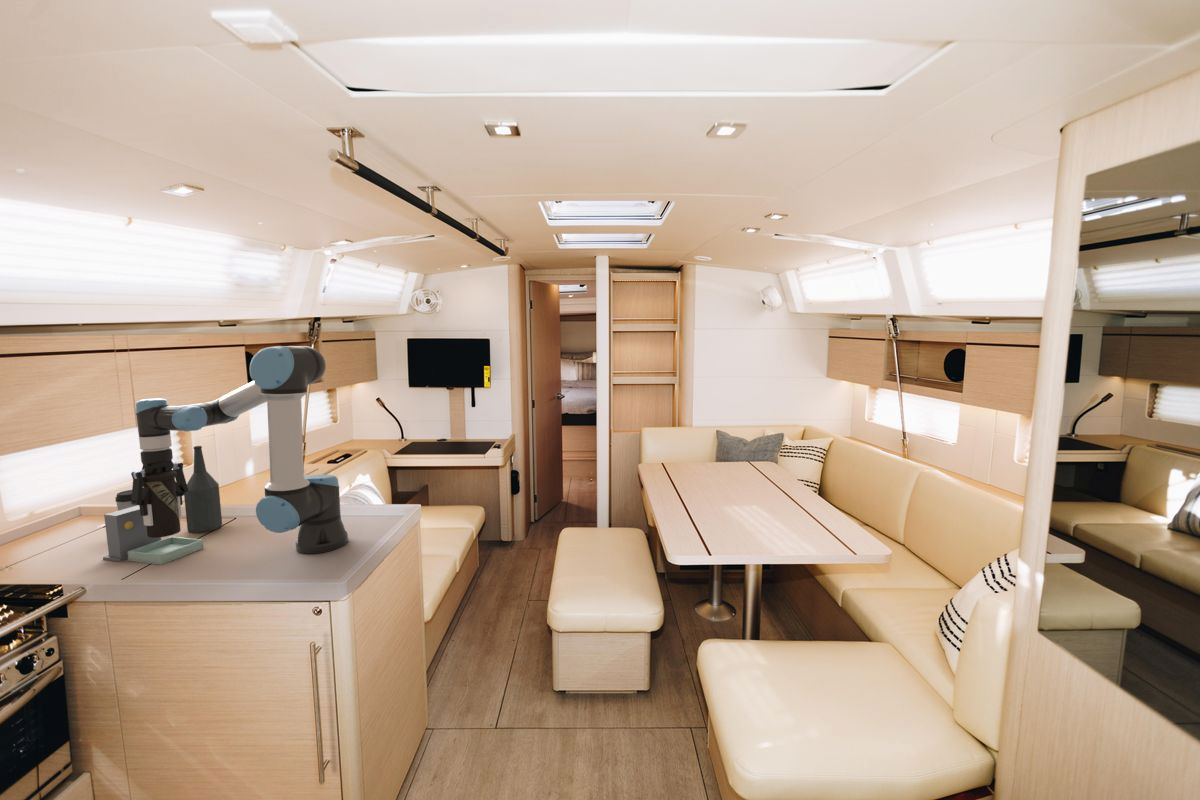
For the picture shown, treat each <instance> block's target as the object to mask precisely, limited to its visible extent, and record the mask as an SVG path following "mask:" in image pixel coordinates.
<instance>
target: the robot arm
mask: <svg viewBox="0 0 1200 800" xmlns="http://www.w3.org/2000/svg"><path fill="white" fill-rule="evenodd" d="M326 367H327V365H326V360H325V357H324V356H323V354H322V353H321V352H320V351H318V350H317V349H316V348H313V347H312V346H307V345H299V346H298V345H297V346H295V345H288V346H286V345H284V346H283V345H277V346H268V347H265V348H262V349H260V350H259V351H258V352H256V353H255V354H254V356H253V357H252V358H251V361H250V363H249V376H250V378H251V380H252V381H250V382H248V383H246V384H244V385H242V386H240V387H238V388H237V389H234V390H232V391H230V392H229V393H227V394H224V395H222V396H221V397H218V398H217V399H215V400H212V401H206V402H200V403H199V402H198V403H193V404H186V405H169V403H168V399H166V398H161V397H160V398H144V399H139V400H137V401H136V403H135V416H136V423H137V432H138V441H139V449H140V450H141V451H140V461H141V464H142V467H141V469H140V470H137V471H132V472H131V473H130V475H131V477H132V486H131V487H132V489H131V490H132V499H131V504H132V505H139V507H140V515H141V516H143V520H144V525H146V526H152V525H153V517H152V507H151V504H148V502H149V499H150V496H151V493H150V486H149V487H144V486H143V477H144V474H145V475H152V474H158V473H160V472H162V471H166V472H167V471H170V470H174V471H176V473H177V475H176V477H175V486H176V495H177V503H178V511H179V518H180V517H183V515H182V505H183V503H184V502H183V497H184V494H185V492H188V487H187V481H186V477H185V473H184V463H183V462H173V458H174V456H173V449H172V448H171V447H172V446H173V445H172V436H171V435H172V434H171V431H178V432H179V431H181V432H191V431H193V432H194V431H195V432H197V431H199V430H201V429H202V428H204V427H209V426H215V425H221V424H222V425H223V424H224V425H225V424H228V423H231V422H234V421H235V420H238V418H239V416H240V415H241V414H244V413H246V412H248V411H250V410H252V409H254V408H256V407H258V406H261V405H262V404H264V403H267V427H268V429H267V431H268V450H269V453H268V455H269V456H268V457H269V475H270V477H269V478H270V480H269V481H268V482H267V483H266V484H265V485H264V496H263V497H262V498H261V499H260V500H259V501H258V502H257V504H256V506H255V513H256V517H257V521H258V522H259V523H260V524H261V525H262V526H264V528H265V529H266V530H268V531H270V532H272V533H276V534H282V533H285V532H289V531H293V530H295V529H297V528H298V527H299V528H298V529H299V531H298V533H297V538H296V541H295V548H296V551H297V552H298V553H300V554H320V553H327V552H330V551H334V550H337V549H340V548H342V547H343V546H345V545H347V544H348V543H349V534H348V532H347V530H346V529H345V526H344V523H343V521H342V515H341V497H340V485H339V484H340V483H339V479H338V477H337V476H335V475H332V474H310V475H309V474H308V475H305V474H304V473H305V471H304V442H303V413H302V411H303V410H302V407H303V406H302V398H303V397H304V396H305V395H306V394H307V393H308V388H307V386H309V385H311V384H314V383H316V382H318V381H319V380H320V379H322V377H323V376H324V374H325V372H326Z"/></svg>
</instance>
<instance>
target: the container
mask: <svg viewBox="0 0 1200 800" xmlns="http://www.w3.org/2000/svg"><path fill="white" fill-rule="evenodd" d="M176 475H177V473H176V471H174V470H173V469H172V470H170V471H167V472H166V471H162V472H160V473H158V474H152V475H145V474H144V477H143V486H144V487H149V486H150V493H151V496H150V499H149V502H148V504H151V507H152V517H153V525H152V526H147V535H148V537H151V538H159V537H161V538H167V537H171V536H173V535H176V534H178V533H180V532H181V520H180V517H179V511H178V503H177V495H176V486H175V481H176V479H175V477H176Z"/></svg>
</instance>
